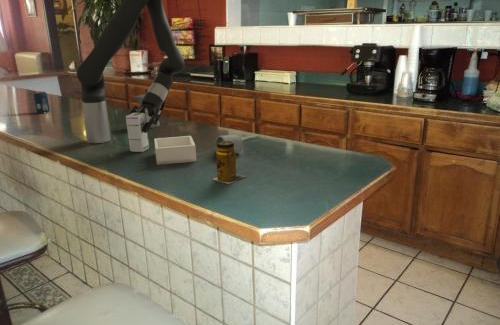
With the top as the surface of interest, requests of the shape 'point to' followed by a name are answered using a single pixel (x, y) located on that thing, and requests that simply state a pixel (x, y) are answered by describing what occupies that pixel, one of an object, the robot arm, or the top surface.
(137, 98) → the coffeepot
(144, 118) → the syrup box
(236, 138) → the ceramic mug
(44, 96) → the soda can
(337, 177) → the top surface
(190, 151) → the bin
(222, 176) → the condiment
